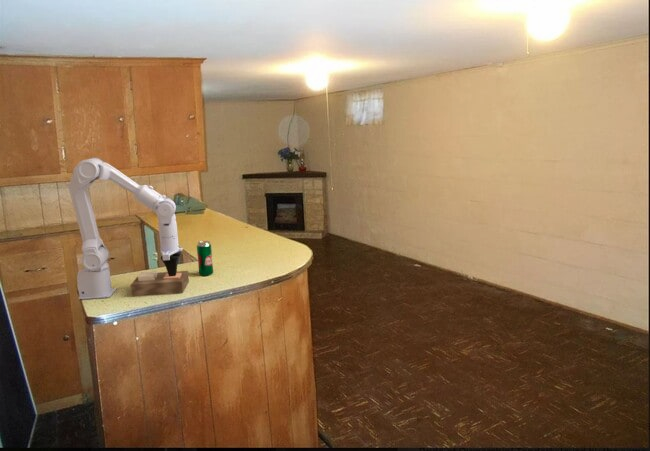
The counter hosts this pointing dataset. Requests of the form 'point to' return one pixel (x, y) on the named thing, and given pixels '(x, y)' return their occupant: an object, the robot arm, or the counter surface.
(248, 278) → the counter surface
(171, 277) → the terracotta key
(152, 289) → the key console
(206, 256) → the soda can
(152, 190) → the robot arm
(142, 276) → the offwhite key
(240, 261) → the counter surface
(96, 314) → the counter surface
